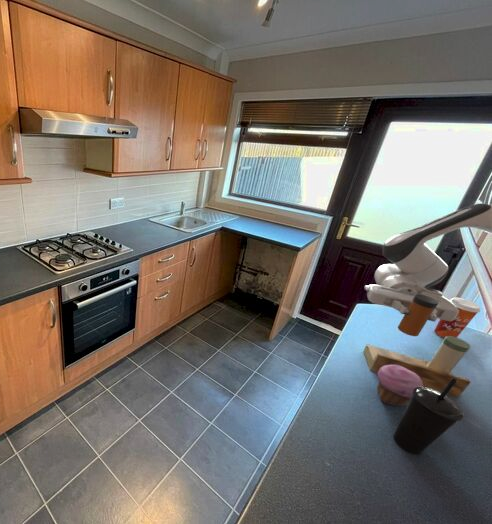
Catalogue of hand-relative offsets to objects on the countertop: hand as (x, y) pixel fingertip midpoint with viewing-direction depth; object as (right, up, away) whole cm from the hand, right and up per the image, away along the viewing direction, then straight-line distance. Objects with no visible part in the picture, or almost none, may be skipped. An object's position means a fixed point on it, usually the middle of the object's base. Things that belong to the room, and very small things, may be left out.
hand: (419, 315), depth 77 cm
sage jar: (+8, -17, +3) cm, 19 cm away
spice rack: (+2, -18, +6) cm, 19 cm away
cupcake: (-11, -22, -3) cm, 25 cm away
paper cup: (+33, -12, +24) cm, 42 cm away
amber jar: (0, -5, +3) cm, 6 cm away
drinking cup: (-17, -26, -14) cm, 34 cm away
